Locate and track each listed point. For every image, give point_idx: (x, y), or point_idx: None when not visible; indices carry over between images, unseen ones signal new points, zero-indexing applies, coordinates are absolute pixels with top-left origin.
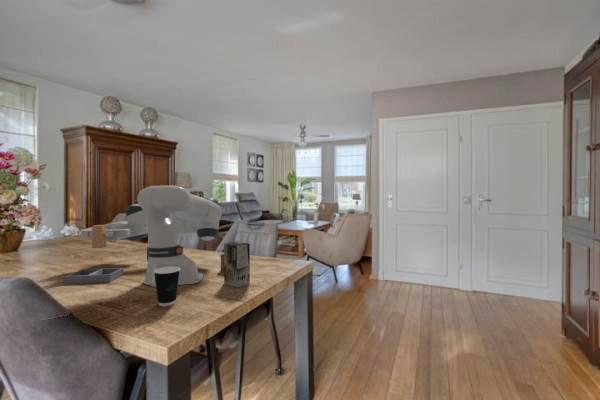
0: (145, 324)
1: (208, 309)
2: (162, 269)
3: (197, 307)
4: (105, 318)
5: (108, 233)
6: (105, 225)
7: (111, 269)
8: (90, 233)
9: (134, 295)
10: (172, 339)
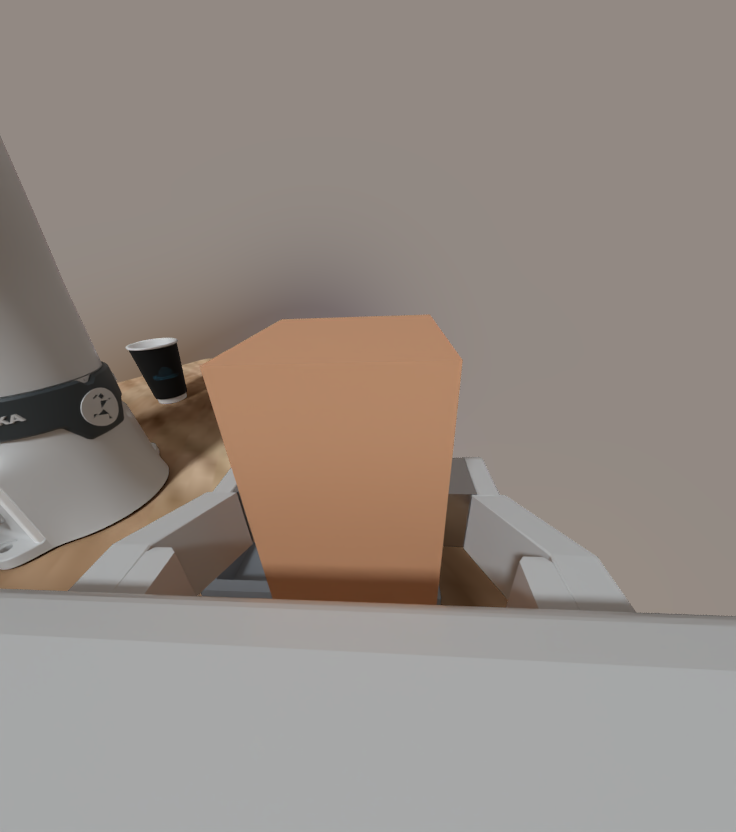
0: None
1: (134, 386)
2: (154, 350)
3: (142, 389)
4: None
5: (217, 497)
6: (226, 362)
7: (266, 584)
8: (482, 460)
9: (213, 422)
10: (203, 361)
